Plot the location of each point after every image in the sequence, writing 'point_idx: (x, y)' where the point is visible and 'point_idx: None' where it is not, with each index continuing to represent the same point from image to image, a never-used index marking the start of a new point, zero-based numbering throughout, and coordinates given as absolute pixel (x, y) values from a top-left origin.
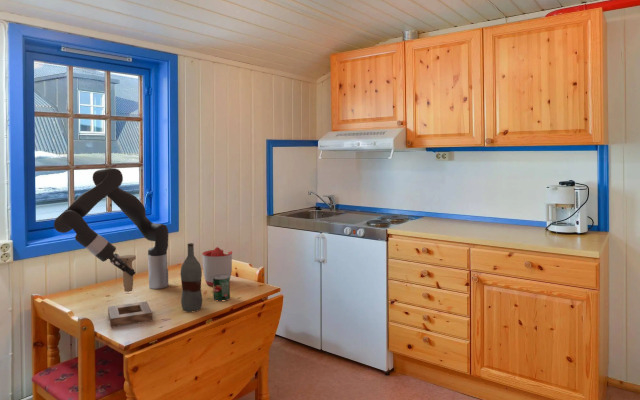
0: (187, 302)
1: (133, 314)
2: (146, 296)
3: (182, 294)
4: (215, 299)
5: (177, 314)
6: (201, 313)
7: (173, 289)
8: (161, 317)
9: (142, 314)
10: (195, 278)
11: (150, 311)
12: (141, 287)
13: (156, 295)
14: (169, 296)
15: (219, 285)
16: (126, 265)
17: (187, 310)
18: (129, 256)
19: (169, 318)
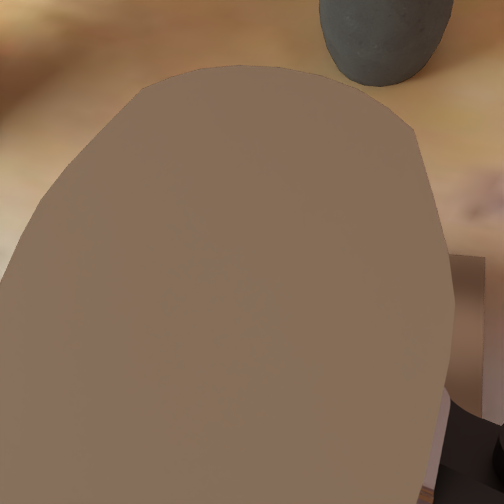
0: (439, 26)
1: (461, 383)
2: (33, 209)
3: (391, 12)
4: None
5: (433, 124)
6: (487, 13)
7: (23, 71)
8: (438, 213)
9: (482, 324)
10: None
11: (454, 262)
12: None
13: (53, 161)
14: (111, 107)
15: None
16: (445, 440)
17: (423, 65)
18: (230, 266)
19: (482, 176)
